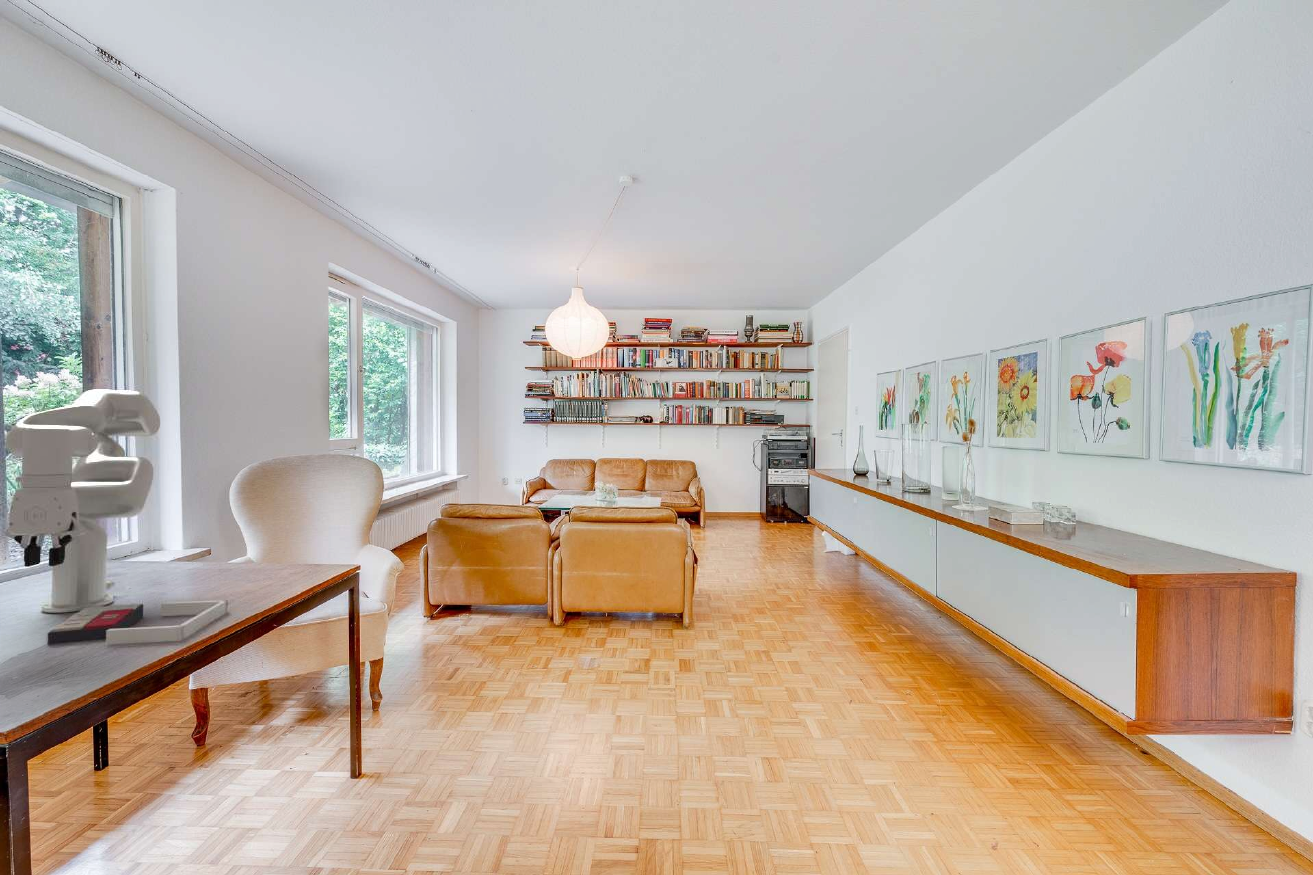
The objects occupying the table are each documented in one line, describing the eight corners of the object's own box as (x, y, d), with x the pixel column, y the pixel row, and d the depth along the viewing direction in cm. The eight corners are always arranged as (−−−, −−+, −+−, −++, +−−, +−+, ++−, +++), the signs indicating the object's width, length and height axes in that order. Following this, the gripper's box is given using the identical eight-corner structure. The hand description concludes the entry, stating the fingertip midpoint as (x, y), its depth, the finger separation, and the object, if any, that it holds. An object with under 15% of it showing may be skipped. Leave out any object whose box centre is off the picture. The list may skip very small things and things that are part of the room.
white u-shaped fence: (164, 614, 136) (164, 602, 136) (227, 611, 140) (227, 600, 140) (105, 644, 117) (106, 630, 117) (181, 640, 120) (181, 626, 120)
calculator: (46, 629, 116) (83, 605, 129) (46, 649, 116) (83, 623, 129) (116, 623, 120) (144, 600, 134) (115, 642, 121) (144, 618, 134)
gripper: (-17, 483, 116) (-20, 570, 116) (80, 484, 121) (77, 567, 121) (14, 480, 124) (12, 562, 124) (104, 481, 128) (102, 560, 128)
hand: (44, 564), depth 122 cm, fingers open, 3 cm apart
